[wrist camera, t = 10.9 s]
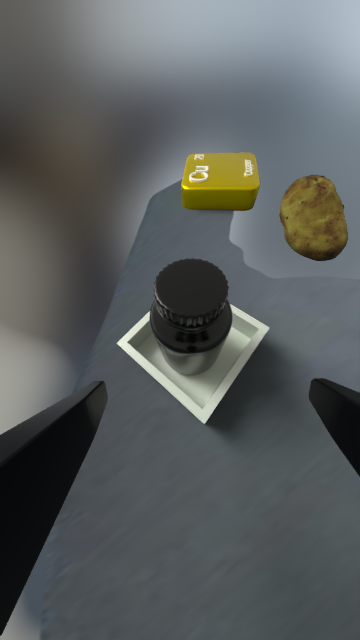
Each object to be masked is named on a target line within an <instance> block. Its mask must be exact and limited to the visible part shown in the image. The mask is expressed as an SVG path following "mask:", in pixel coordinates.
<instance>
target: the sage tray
mask: <svg viewBox="0 0 360 640" xmlns="http://www.w3.org/2000/svg"><path fill="white" fill-rule="evenodd" d="M230 306H231V309H232V315H233V321H232V326H231V330H230V332H229V335H228V337H227V339H226V341H225V343H224V345H223V347H222V350H221V352H220V354H219V356H218V358H217V360H216V362H215V363H214V364H213V366H212V367H211V368H210V369H208V370H207V371H205V372H204V373H201V374H198V375H184V374H180V373H178V372H176V371H175V370H173V369H172V368H171V367H170V366H169V365H168V364H167V362H166V361H165V359H164V357H163V355H162V353H161V350H160V348H159V346H158V344H157V341H156V339H155V337H154V334H153V332H152V329H151V326H150V318H149V317H150V312H148V313H147V314H146V315H145V316H144V317H143V318H142V319H141V320H140V321H139V322H138V323H137V324H136V325H135V326H134V327H133V328H132V329H131V330H130V331H129V332H128V333H127V334H126V335H125V336H124V337H123V338H122V339H121V340H120V341H119V342H117V344H118V345H119V346H120V347H121V348H122V349H123V350H124V351H125V352H127V353H128V354H129V355H130V356H131V357H132V358H133V359H134V360H135V361H136V362H137V363H138V364H139V365H141V366H142V367H143V368H144V369H145V370H146V371H147V372H148V373H149V374H150V375H151V376H152V377H154V378H155V379H156V380H157V381H158V382H159V383H160V384H161V385H162V386H163V387H164V388H165V389H167V390H168V391H169V392H170V393H171V394H172V395H173V396H174V397H175V398H176V399H177V400H178V401H180V402H181V403H182V404H183V405H184V406H185V407H186V408H187V409H188V410H189V411H190V412H191V413H193V414H194V415H195V416H196V417H197V418H198V419H199V420H200V421H201V422H202V423H204V424H205V423H206V421H207V420H208V418H209V417H210V415H211V414H212V412H213V411H214V409H215V408H216V406H217V405H218V403H219V402H220V400H221V399H222V397H223V396H224V395H225V393H226V392H227V390H228V389H229V387H230V386H231V384H232V383H233V381H234V380H235V378H236V377H237V375H238V374H239V372H240V371H241V369H242V368H243V366H244V365H245V363H246V362H247V360H248V359H249V357H250V356H251V354H252V353H253V352H254V350H255V349H256V347H257V346H258V344H259V343H260V341H261V340H262V338H263V337H264V335H265V334H266V332H267V331H268V329H269V327H267V326H266V325H264V324H262V323H261V322H259V321H257V320H256V319H254V318H252V317H251V316H249V315H247V314H246V313H244V312H242V311H241V310H239V309H237V308H236V307H234V306H232V305H231V304H230Z"/></svg>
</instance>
